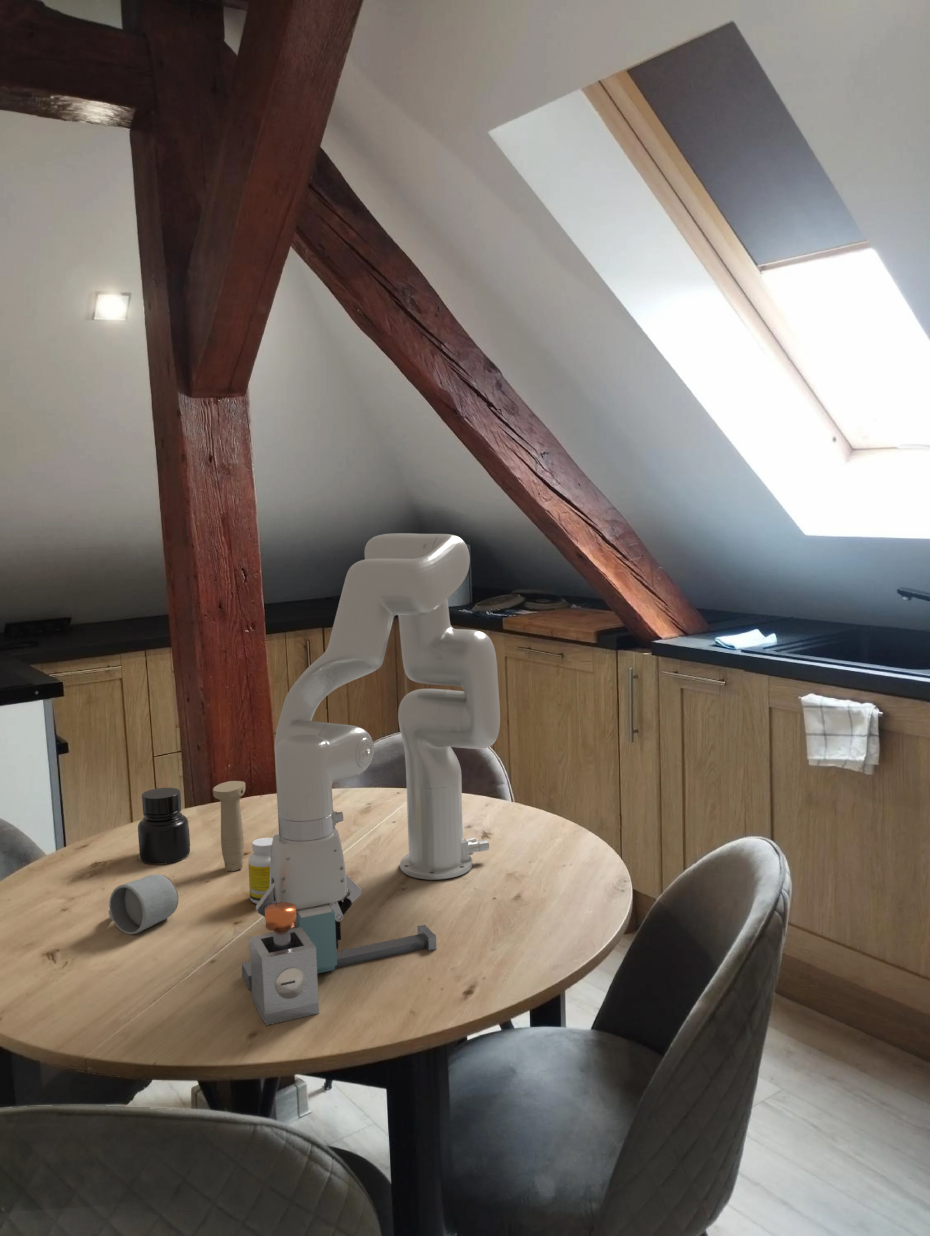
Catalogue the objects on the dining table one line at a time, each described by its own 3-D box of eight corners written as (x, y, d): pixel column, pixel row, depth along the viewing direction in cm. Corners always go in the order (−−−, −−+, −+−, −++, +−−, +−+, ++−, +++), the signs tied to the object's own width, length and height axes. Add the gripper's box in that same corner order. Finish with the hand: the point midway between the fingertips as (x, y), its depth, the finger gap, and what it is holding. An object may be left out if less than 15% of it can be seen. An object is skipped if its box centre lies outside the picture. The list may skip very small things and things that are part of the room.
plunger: (294, 957, 144) (291, 900, 142) (302, 970, 140) (299, 911, 139) (264, 964, 142) (261, 905, 141) (272, 976, 138) (268, 917, 137)
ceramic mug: (184, 918, 170) (180, 872, 169) (145, 939, 163) (141, 890, 162) (135, 908, 176) (131, 862, 175) (95, 927, 168) (91, 880, 167)
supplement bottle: (276, 906, 174) (273, 848, 173) (245, 904, 175) (241, 846, 174) (288, 893, 179) (285, 836, 178) (257, 891, 181) (254, 835, 179)
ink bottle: (200, 849, 201) (196, 786, 200) (179, 866, 193) (175, 801, 191) (151, 847, 203) (147, 785, 201) (129, 864, 194) (124, 799, 193)
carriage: (322, 953, 157) (320, 891, 155) (337, 973, 150) (334, 909, 149) (289, 960, 155) (285, 898, 153) (302, 981, 148) (299, 916, 147)
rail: (425, 937, 162) (424, 924, 161) (436, 949, 158) (436, 936, 157) (242, 976, 151) (241, 963, 150) (249, 990, 147) (248, 976, 146)
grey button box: (304, 990, 146) (301, 926, 145) (319, 1014, 140) (316, 948, 138) (252, 1001, 143) (249, 937, 142) (266, 1027, 137) (262, 960, 136)
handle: (212, 874, 189) (207, 790, 187) (231, 860, 195) (226, 780, 193) (237, 876, 187) (232, 792, 185) (255, 863, 193) (250, 782, 191)
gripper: (356, 808, 156) (361, 928, 159) (238, 827, 149) (245, 951, 152) (373, 824, 149) (378, 948, 152) (250, 844, 143) (257, 974, 145)
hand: (312, 948), depth 152 cm, fingers open, 5 cm apart
